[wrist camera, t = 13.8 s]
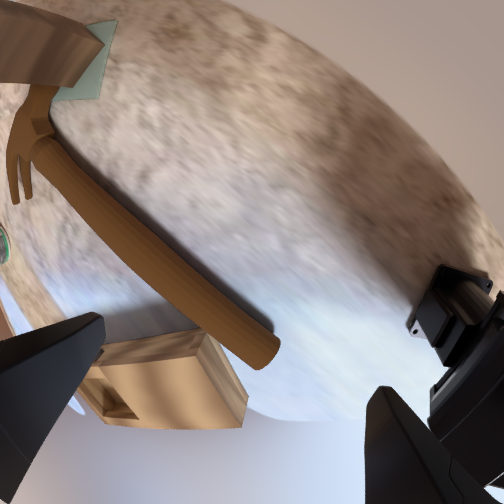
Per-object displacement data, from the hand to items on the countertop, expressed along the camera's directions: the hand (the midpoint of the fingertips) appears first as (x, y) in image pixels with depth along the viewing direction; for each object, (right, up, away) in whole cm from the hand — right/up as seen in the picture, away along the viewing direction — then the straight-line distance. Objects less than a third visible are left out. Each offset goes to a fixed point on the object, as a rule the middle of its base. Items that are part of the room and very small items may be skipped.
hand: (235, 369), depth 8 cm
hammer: (-10, +5, +14) cm, 18 cm away
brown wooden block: (-14, +20, +8) cm, 26 cm away
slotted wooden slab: (-10, -9, +19) cm, 23 cm away
